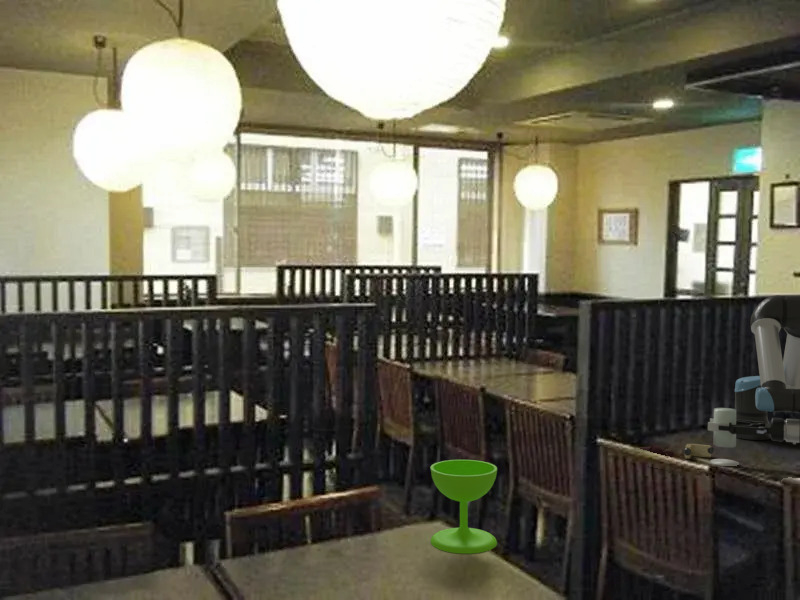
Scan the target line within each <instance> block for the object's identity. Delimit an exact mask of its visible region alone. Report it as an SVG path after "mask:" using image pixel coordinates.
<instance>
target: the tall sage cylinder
mask: <svg viewBox="0 0 800 600" xmlns="http://www.w3.org/2000/svg"><path fill="white" fill-rule="evenodd" d="M713 419H714V423H726V424H729V422H731V423H732V425H736V410H735V408H729V407H716V408H713ZM712 444H713V446H715V447H719V448H735V447H737V438H736V434H731V433H730V432H720V431H713V443H712Z"/></svg>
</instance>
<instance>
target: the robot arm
mask: <svg viewBox="0 0 800 600" xmlns="http://www.w3.org/2000/svg"><path fill="white" fill-rule="evenodd" d="M781 329H783V330H784V331H785V332H786V340H785V341H786V342H785V348H784V354H782V348H781V341H780V335H779V333H780V331H781ZM750 330H751V333H752V334H754V339H755V347H756V355H757V363H758V364H757V365H758V373H759V375H755V376H753V375H752V376H751V375H750V376H744V377H741V378H738V379H736V381H735V388H734V392H735V393H734V394H735V395H734V409H735V410H736V425H732V423H731V422H729V424H726V423H714V418H709V421H708V422H707V431H708V432H709V431H710V432H714V431H720V432H730V433H731V434H736V439H741V438H742V440H751V441H764V440H771V441H773V442H784V441H785V442H786V443H792V445H797V444H798V443H799V444H800V419H797V418H786V419H784V418H782V417H771V420H770V421H771V422H769V419H768V412H770V413H774V412H780V413H798V414H799V413H800V295H789V294H788V295H785V294H784V295H781V294H777V295H771V296H769V297H766V298H764V299H763V300H762V301H761V302H759V303H758V305H757V306H756V307H755V308H754V309H753V312H752V314H751V317H750ZM782 355H783V356H782Z"/></svg>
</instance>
